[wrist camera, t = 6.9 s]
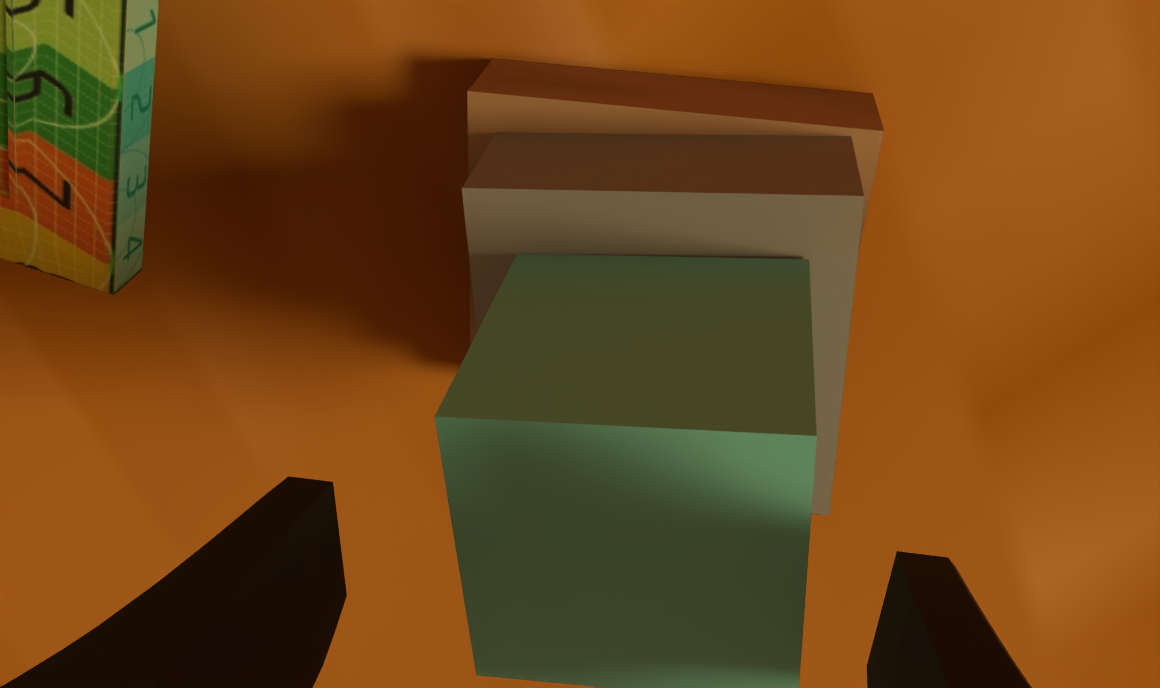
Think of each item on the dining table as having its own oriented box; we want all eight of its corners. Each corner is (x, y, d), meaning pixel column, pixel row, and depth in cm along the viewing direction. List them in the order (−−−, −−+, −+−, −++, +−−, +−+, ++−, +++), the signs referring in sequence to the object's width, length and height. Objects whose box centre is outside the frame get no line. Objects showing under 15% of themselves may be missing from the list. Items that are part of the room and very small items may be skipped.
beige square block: (821, 430, 20) (829, 514, 18) (521, 414, 21) (494, 493, 19) (851, 136, 17) (864, 196, 15) (497, 132, 18) (461, 188, 16)
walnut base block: (807, 396, 23) (812, 466, 20) (496, 358, 23) (470, 421, 21) (870, 84, 19) (884, 131, 17) (499, 51, 20) (467, 90, 18)
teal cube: (795, 494, 18) (798, 706, 14) (540, 478, 18) (475, 675, 15) (809, 259, 15) (817, 436, 12) (517, 253, 16) (434, 416, 12)
